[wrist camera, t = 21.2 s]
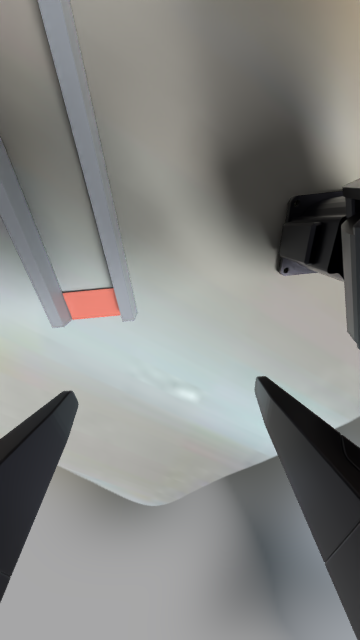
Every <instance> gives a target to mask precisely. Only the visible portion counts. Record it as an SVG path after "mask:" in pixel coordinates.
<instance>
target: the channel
mask: <svg viewBox="0 0 360 640" xmlns="http://www.w3.org/2000/svg"><path fill="white" fill-rule="evenodd" d="M38 4H39V7H40V11H41V15H42V19H43V23H44V26H45V30H46V34H47V38H48V42H49V45H50V49H51V53H52V57H53V60H54V64H55V68H56V72H57V76H58V79H59V83H60V87H61V91H62V95H63V98H64V102H65V106H66V110H67V113H68V117H69V121H70V125H71V129H72V132H73V136H74V140H75V144H76V148H77V151H78V155H79V159H80V163H81V166H82V170H83V174H84V178H85V182H86V185H87V189H88V193H89V197H90V201H91V204H92V208H93V212H94V216H95V219H96V223H97V227H98V231H99V235H100V238H101V242H102V246H103V250H104V254H105V257H106V261H107V265H108V269H109V272H110V276H111V280H112V284H113V288H107V289H97V290H87V291H76V292H66V293H62V291H61V288H60V285H59V283H58V280H57V278H56V275H55V273H54V270H53V268H52V265H51V263H50V260H49V258H48V255H47V253H46V250H45V248H44V245H43V243H42V240H41V238H40V235H39V233H38V230H37V228H36V225H35V223H34V220H33V217H32V215H31V212H30V210H29V207H28V205H27V202H26V200H25V197H24V195H23V192H22V190H21V187H20V185H19V182H18V180H17V177H16V175H15V172H14V170H13V167H12V165H11V162H10V160H9V157H8V154H7V152H6V149H5V147H4V144H3V142H2V139H1V137H0V216H1V218H2V220H3V222H4V224H5V226H6V229H7V231H8V233H9V235H10V237H11V239H12V242H13V244H14V246H15V248H16V250H17V252H18V255H19V257H20V259H21V261H22V263H23V265H24V268H25V270H26V272H27V274H28V276H29V278H30V280H31V283H32V285H33V287H34V289H35V291H36V293H37V296H38V298H39V300H40V302H41V304H42V306H43V309H44V311H45V313H46V315H47V317H48V319H49V321H50V324H51V326H52V328H57V327H64V326H66V325H67V324H68V323H69V322H70V321H71V320H72V319H73V320H74V319H85V318H95V317H106V316H117V315H121V318H122V322H124V321H134V320H135V318H136V316H137V313H138V312H137V308H136V303H135V298H134V294H133V289H132V285H131V280H130V275H129V271H128V266H127V262H126V257H125V252H124V248H123V243H122V239H121V234H120V229H119V225H118V220H117V216H116V211H115V206H114V202H113V197H112V193H111V188H110V183H109V179H108V174H107V170H106V165H105V160H104V156H103V151H102V147H101V142H100V137H99V133H98V128H97V124H96V119H95V114H94V110H93V105H92V101H91V96H90V91H89V87H88V82H87V78H86V73H85V68H84V64H83V59H82V55H81V50H80V46H79V41H78V36H77V32H76V27H75V23H74V18H73V13H72V9H71V4H70V0H38Z"/></svg>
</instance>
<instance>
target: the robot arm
mask: <svg viewBox="0 0 360 640" xmlns="http://www.w3.org/2000/svg"><path fill="white" fill-rule="evenodd" d="M295 200H297V205H296V206H294V201H295ZM279 255H280V256H281V259H280V266H279V273H280V274H282V275H284V276H287V275H297V274H308V273H321V274H324V275H327V276H329V277H332V278H335V279H338V280H340V281H343V282H344V285H345V301H346V318H347V332H348V333H349V334H350V336H351V337H352V338H353V340H354V341H355V342H356V343H357V347H358V348H359V349H360V179H358V180H355V181H353V182H351V183H349V184H347V185H345V186H343V191H338V192H329V193H320V194H310V195H301V196H295V197H293V198H291V199H290V201H289V203H288V209H287V216H286V223H285V224H284V226H283V231H282V238H281V245H280V252H279ZM285 268H287V270H286V271H285V272H284V269H285ZM255 394H256V398H257V401H258V404H259V407H260V410H261V414H262V417H263V420H264V423H265V426H266V428H267V431H268V433H269V436H270V438H271V440H272V442H273V445H274V447H275V449H276V452H277V454H278V456H279V458H280V461H281V463H282V466H283V468H284V470H285V472H286V475H287V477H288V479H289V482H290V484H291V486H292V489H293V491H294V493H295V496H296V498H297V500H298V503H299V505H300V507H301V509H302V512H303V514H304V517H305V519H306V521H307V524H308V526H309V528H310V530H311V533H312V535H313V537H314V540H315V542H316V544H317V546H318V549H319V551H320V554H321V556H322V558H323V561H324V562H325V565H326V568H327V570H328V572H329V575H330V577H331V579H332V582H333V584H334V586H335V589H336V591H337V593H338V596H339V598H340V600H341V603H342V605H343V607H344V610H345V612H346V614H347V616H348V619H349V621H350V623H351V626H352V628H353V630H354V633H355V635H356V637H357V639H358V640H360V448H359V447H358V446H357V445H355V444H354V443H352V442H351V441H350V440H348V439H347V438H346V437H345V436H343V435H341V434H340V433H339V432H338V431H337V430H335V429H334V428H333V427H331V426H330V425H329V424H328V423H326V422H325V421H324V420H322V419H321V418H320V417H318V416H317V415H316V414H314V413H313V412H312V411H311V410H309V409H308V408H307V407H305V406H304V405H303V404H301V403H300V402H299V401H297V400H296V399H295V398H294V397H292V396H291V395H290V394H288V393H287V392H286V391H284V390H283V389H282V388H280V387H279V386H278V385H277V384H275V383H274V382H273V381H271V380H270V379H269V378H267V377H266V376H259V377H257V378H256V382H255ZM77 409H78V400H77V398H76V396H75V394H74V392H73V391H63V392H61V393H60V394H59V395H58V396H56V397H55V398H54V399H52V400H51V401H50V402H48V403H47V404H46V405H44V406H43V407H42V408H40V409H39V410H38V411H37V412H35V413H34V414H33V415H31V416H30V417H29V418H27V419H26V420H25V421H23V422H22V423H21V424H19V425H18V426H17V427H16V428H14V429H13V430H12V431H10V432H9V433H8V434H6V435H5V436H4V437H2V438H1V439H0V602H1V600H2V597H3V595H4V592H5V590H6V588H7V585H8V583H9V580H10V576H11V575H12V572H13V570H14V568H15V565H16V563H17V561H18V558H19V556H20V554H21V551H22V548H23V546H24V544H25V541H26V539H27V537H28V534H29V532H30V529H31V527H32V525H33V522H34V520H35V517H36V515H37V513H38V510H39V508H40V505H41V503H42V500H43V498H44V496H45V493H46V491H47V488H48V486H49V483H50V481H51V479H52V476H53V474H54V472H55V469H56V466H57V464H58V462H59V460H60V457H61V455H62V452H63V450H64V447H65V445H66V443H67V440H68V437H69V434H70V431H71V428H72V425H73V421H74V418H75V415H76V412H77Z"/></svg>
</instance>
